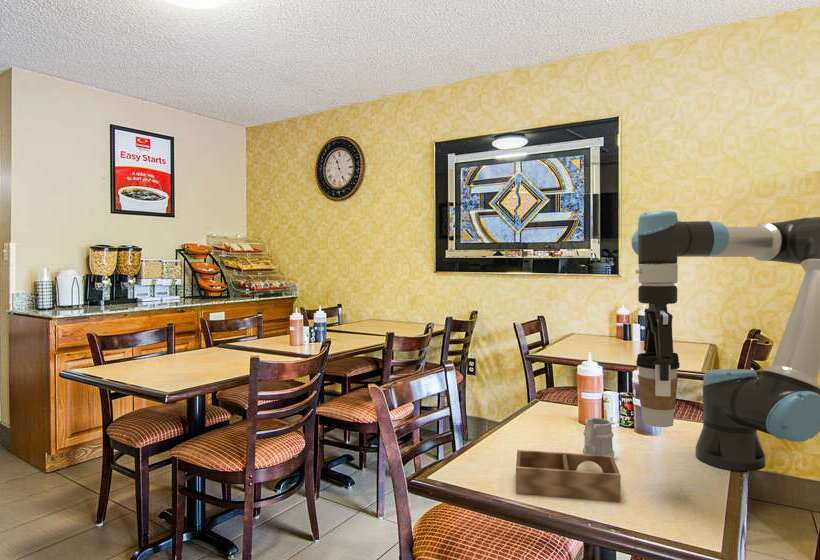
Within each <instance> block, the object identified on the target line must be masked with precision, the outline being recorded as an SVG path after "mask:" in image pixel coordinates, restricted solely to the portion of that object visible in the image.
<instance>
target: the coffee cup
mask: <svg viewBox="0 0 820 560" xmlns="http://www.w3.org/2000/svg"><path fill="white" fill-rule="evenodd" d="M673 356H674V363H673V364H671V397H670V396H656V393H655V365H654V364H653V362H654V361H657V357H656V352H651V353H645V352H641V353H638V354H637V357H636V361H635V362H636V366H637V367H638V368H637V370H638V374H637V379H638V386H639V389H638V390H639V396H640V405H641V416H642V422H643V423H644V425H647V426H651V427H657V428H670V427H673V425H674V420H675V419H674V418H675V417H674V416H675V408H676V399H677V388H678V381H679V380H678V379H679V378H678V369H680V361H679V360H680V359H679V354H678V353H677V352H673Z"/></svg>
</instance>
